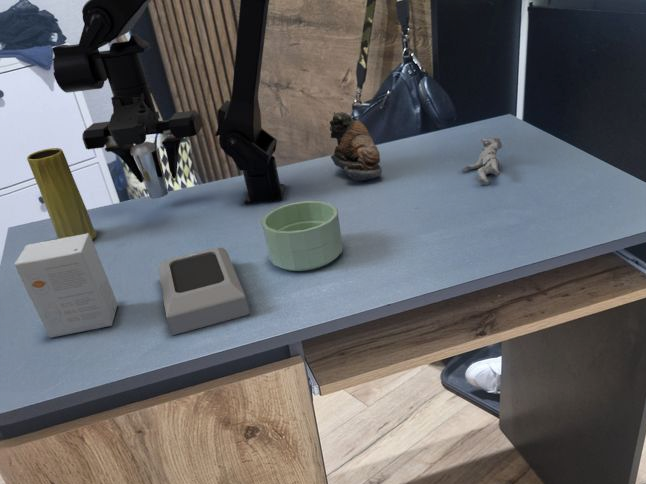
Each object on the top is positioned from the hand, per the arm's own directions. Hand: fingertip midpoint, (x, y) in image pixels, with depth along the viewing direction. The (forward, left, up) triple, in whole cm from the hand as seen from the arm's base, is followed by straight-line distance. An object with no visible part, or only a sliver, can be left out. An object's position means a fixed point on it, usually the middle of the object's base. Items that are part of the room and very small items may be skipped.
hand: (158, 179), depth 110 cm
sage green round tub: (+26, +27, -5) cm, 38 cm away
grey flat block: (+35, +14, -5) cm, 38 cm away
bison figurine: (-4, +34, -5) cm, 35 cm away
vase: (+11, -12, -5) cm, 17 cm away
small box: (+38, -1, -5) cm, 38 cm away
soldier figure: (+2, +56, -5) cm, 56 cm away
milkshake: (0, 0, -3) cm, 3 cm away
